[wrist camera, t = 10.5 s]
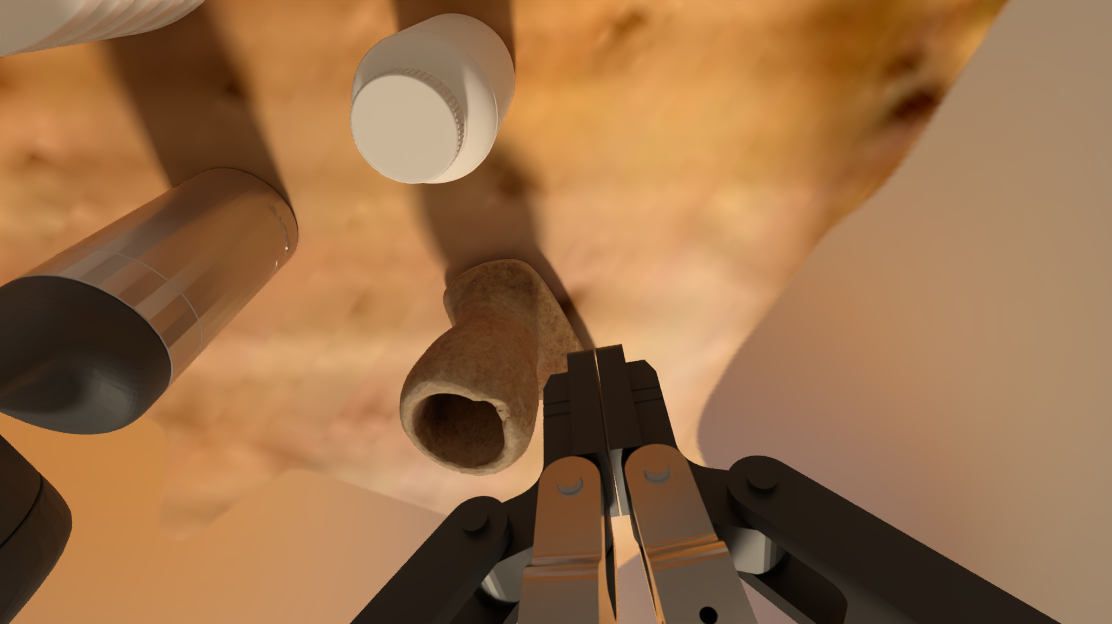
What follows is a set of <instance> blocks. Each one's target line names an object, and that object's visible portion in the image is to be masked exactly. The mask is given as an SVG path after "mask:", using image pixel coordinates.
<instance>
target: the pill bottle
mask: <svg viewBox="0 0 1112 624" xmlns="http://www.w3.org/2000/svg"><path fill="white" fill-rule="evenodd" d="M514 88H515V73H514V67H513V62H512V59H511V56H510V54H509V51H508V49H507V47H506V46H505V44H504V42H503V41H502V40H501V38H500V37H499V36H498V35H497V33H496V32H495V31H494V30H493V29H491V28H490V27H489V26H488V25H486V24H485V23H483V22H482V21H480V20H478V19H476V18H474V17H471V16H468V15H463V14H456V13H447V14H441V15H437V16H434V17H431V18H429V19H427V20H425V21H422V22H420V23H418V24H415V25H413V26H411V27H409V28H406V29H404V30H402V31H399V32H397V33H395V34H393V35H390V36H388V37H386V38H385V39H383V40H381V41H380V42H378V43H377V44H376V45H375V46H373V47H372V48H371V49H370V50H369V51H368V52H367V54H366V55H365V56H364V58H363V59H362V61H361V62H360V64H359V66H358V68H357V71H356V73H355V77H354V80H353V86H352V95H351V102H352V106H351V111H350V115H351V116H350V121H351V122H350V126H351V131H352V136H353V138H354V141H355V143H356V146H357V148H358V149H359V151H360V153H361V154H362V156H363V157H364V158H365V160H366V161H367V162H368V163H369V164H370V165H371V166H372V167H373V168H374V169H375V170H377V171H378V172H379V173H381V174H383V175H384V176H386V177H388V178H390V179H393V180H395V181H398V182H403V183H408V184H412V183H414V184H417V183H419V184H420V183H445V182H449V181H453V180H456V179H459V178H461V177H463V176H465V175H467V174H469V173H470V172H472V171H473V170H474V169H476V168H477V167H478V166H479V165H480V164H481V163H482V162H483V160H484V159H485V158H486V156H487V155H488V153H489V152H490V150H491V148H492V146H493V144H494V141H495V139H496V137H497V134H498V132H499V130H500V128H501V125H502V123H503V121H504V118H505V116H506V114H507V111H508V109H509V107H510V104H511V102H512V98H513V95H514Z"/></svg>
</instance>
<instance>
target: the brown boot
mask: <svg viewBox="0 0 1112 624" xmlns="http://www.w3.org/2000/svg"><path fill="white" fill-rule="evenodd" d="M443 303H444V306H445V309H446V312H447V314H448V317H449V319H450V321H451V324H452V326H453V327H452V328H451V329H449V330H448V331H447V332H445V333H444V334H443V335H441V336H440V337H439V338H438V339H437V340H436V341H434V342H433V343H432V344H431V346H430V347H429V348H428V349H427V350H426V352H425V353H424V354H423V355H422V356H421V358H420V359H419V360H418V361H417V362H416V364H415V365H414V366H413V368H412V369H411V371H410V373H409V374H408V376H407V378H406V380H405V382H404V385H403V388H402V392H401V397H400V419H401V423H402V427H403V429H404V431H405V433H406V435H407V436H408V437H409V438H410V439H411V441H412V442H413V444H414V445H415V446H416V447H417V448H418V449H419V450H420V451H421V452H422V453H423V454H424V455H426V456H427V457H428V458H430V459H431V460H433V461H434V462H436V463H438V464H439V465H441V466H443V467H445V468H447V469H450V470H453V471H458V472H460V473H463V474H470V475H475V476H483V475H490V474H496V473H498V472H500V471H502V470H504V469H506V468H507V467H509V466H511V465H512V464H513V463H514V462H516V461H517V460H518V459H519V458H520V457H521V456H522V455H523V454H524V452H525V451H526V450H527V447H528V445H529V443H530V441H531V438H532V435H533V432H534V427H535V422H536V416H537V411H538V406H539V400H543V389H544V387H545V385H546V383H547V381H548V379H549V377H550V375H552V374H558V373H564V372H568V365H567V353H570V352H576V351H582V350H584V349H583V347H582V345H581V343H580V341H579V340H578V338H577V336H576V334H575V333H574V331H573V329H572V327H571V325H570V323H569V321H568V319H567V317H566V316H565V314H564V312H563V310H562V309H561V307H560V305H559V304H558V302H557V301H556V299H555V297H554V296H553V294H552V293H551V291H550V289H549V288H548V286H547V285H546V283H545V282H544V281H543V279H542V278H541V277H540V276H539V274H538V273H537V272H536V271H535V270H534V269H533V268H532V267H531V266H530V265H529V264H527V263H526V262H524V261H521V260H518V259H500V260H494V261H489V262H485V263H482V264H480V265H477V266H475V267H473V268H471V269H469V270H467V271H465V272H463V273H461V274H460V275H458V276H457V277H456V278H455V279H454V280H453V281H452V283H451V284H450V286H449V287H448V288H446V290H445V291H444V296H443Z"/></svg>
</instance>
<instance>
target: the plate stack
mask: <svg viewBox="0 0 1112 624" xmlns="http://www.w3.org/2000/svg"><path fill="white" fill-rule="evenodd" d="M204 1H205V0H0V57H4V56H9V55H14V54H19V53H26V52H33V51H40V50H45V49H51V48H55V47H62V46H69V45H75V44H81V43H86V42H92V41H99V40H105V39H111V38H116V37H122V36H129V35H135V34H140V33H145V32H149V31H153V30H156V29H159V28H162V27H164V26H167V25H169V24H171V23H173V22H175V21H177V20H179V19H181V18H183V17H184V16H186V15H187V14H189V13H190V12H192V11H193V10H194V9H196V8H197V7H198V6H199V5H201V4H202V3H203V2H204Z"/></svg>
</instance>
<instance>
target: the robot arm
mask: <svg viewBox="0 0 1112 624" xmlns="http://www.w3.org/2000/svg"><path fill="white" fill-rule="evenodd" d="M297 242H298V230H297V225H296V221H295V218H294V216H293V214H292V212H291V210H290V208H289V207H288V205H287V204H286V202H285V201H284V200H283V198H282V197H281V196H280V195H279V194H278V193H277V192H276V191H275V190H274V189H273V188H272V187H270V186H269V185H268V184H266V183H265V182H264V181H262V180H260V179H258V178H257V177H255V176H253V175H251V174H248V173H245V172H242V171H239V170H235V169H228V168H217V169H210V170H207V171H204V172H201V173H199V174H198V175H196V176H194V177H192V178H191V179H189V180H187V181H185V182H184V183H182V184H180V185H178V186H177V187H175V188H173V189H171V190H169V191H167V192H166V193H164V194H162V195H160V196H159V197H157V198H155V199H153V200H152V201H150V202H148V203H146V204H145V205H143V206H141V207H139V208H138V209H136V210H134V211H132V212H131V213H129V214H127V215H125V216H124V217H122V218H120V219H118V220H117V221H115V222H113V223H111V224H110V225H108V226H106V227H104V228H103V229H101V230H99V231H97V232H96V233H94V234H92V235H90V236H89V237H87V238H85V239H83V240H82V241H80V242H78V243H76V244H75V245H73V246H71V247H69V248H68V249H66V250H64V251H62V252H61V253H59V254H57V255H55V256H54V257H52V258H51V259H49V260H47V261H45V262H44V263H42V264H40V265H38V266H37V267H35V268H33V269H31V270H30V271H28V272H26V273H24V274H23V275H21V276H19V277H17V278H16V279H14V280H12V281H10V282H9V283H7V284H5V285H3V286H2V287H0V412H2V413H4V414H6V415H9V416H11V417H13V418H16V419H19V420H21V421H23V422H26V423H29V424H32V425H35V426H38V427H41V428H45V429H49V430H53V431H58V432H63V433H70V434H100V433H108V432H112V431H115V430H118V429H121V428H123V427H125V426H127V425H129V424H131V423H132V422H134V421H135V420H137V419H138V418H139V417H141V416H142V415H143V414H144V413H145V412H146V411H147V410H148V409H149V408H150V407H151V406H152V405H153V404H154V403H155V401H156V400H157V399H158V398H159V397H160V396H161V395H162V394H163V393H164V392H165V391H166V390H167V389H168V388H169V387H170V386H171V385H172V383H173V382H174V381H175V380H176V379H177V378H178V377H179V376H180V375H181V374H182V373H183V372H184V371H185V370H186V369H187V368H188V366H189V365H190V364H191V363H192V362H193V361H194V360H195V359H196V358H197V357H198V356H199V354H200V353H201V352H202V351H203V350H204V349H205V348H206V347H207V346H208V345H209V344H210V343H211V342H212V341H213V340H214V339H215V338H216V336H217V335H218V334H219V333H220V332H221V331H222V330H223V329H224V328H225V327H226V326H227V325H228V324H229V323H230V322H231V321H232V319H233V318H234V317H235V316H236V315H237V314H238V313H239V312H240V311H241V310H242V309H243V308H244V307H245V306H246V305H247V304H248V303H249V301H250V300H251V299H252V298H253V297H254V296H255V295H256V294H257V293H258V292H259V291H260V290H261V289H262V288H263V287H264V286H265V284H267V282H268V281H269V280H270V279H271V278H272V277H273V276H274V275H275V274H276V273H277V272H278V271H279V270H280V269H281V268H282V267H283V265H284V264H285V263H286V262H287V261H288V260H289V259H290V258H291V257H292V255H293V253H294V251H295V250H296V246H297ZM595 349H596V357H597V364H598V370H597V365H596V360H595V355H594V350H593V349H588V350H582V351H576V352H570V353H567V365H568V372H564V373H558V374H552V375H550V377H549V379H548V381H547V383H546V385H545V387H544V389H543V405H544V407H543V417H544V419H543V430H544V465H543V470H542V473H541V475H540V477H539V479H538V480H537V482H536V483H535V484H534V485H533V486H532V487H531V488H530V489H529V490H527V491H526V492H524V493H522V494H520V495H519V496H516V497H514V498H512V499H510V500H507V501H505V502H503V503H501V502H500V501H499V500H497V499H495V498H493V497H489V496H478V497H474V498H471V499H468V500H466V501H465V502H463V503H461V504H460V505H459V506H458V507H457V508H455V509H454V510H453V512H452V513H451V514H450V515H449V516H448V517H447V518H446V519H445V520H444V521H443V522H442V524H441V525H440V526H439V527H438V528H437V529H436V530H435V531H434V532H433V533H432V534H431V536H430V537H429V538H428V539H427V540H426V541H425V542H424V543H423V544H422V545H421V547H420V548H419V549H418V550H417V551H416V552H415V553H414V554H413V555H412V556H411V558H410V559H409V560H408V561H407V562H406V563H405V564H404V565H403V566H402V567H401V569H400V570H399V571H398V572H397V573H396V574H395V575H394V576H393V577H392V578H391V579H390V580H389V581H388V583H387V584H386V585H385V586H384V587H383V588H382V589H381V590H380V591H379V593H377V595H376V596H375V597H374V598H373V599H372V600H371V601H370V602H369V603H368V605H367V606H366V607H365V608H364V609H363V610H362V611H361V612H360V613H359V615H357V617H356V618H355V619H354V620H353V621H352V622H351V623H350V624H516V623H517V624H619V604H618V583H617V561H616V546H615V541H614V537H613V532H612V524H611V517H615V516H620V515H619V508H618V501H617V494H616V487H615V481H616V486H617V491H618V496H619V501H620V506H621V511H622V516H623V515H630V519H631V525H632V530H633V535H634V538H635V540H636V541H637V543H638V547H639V551H640V555H641V559H642V563H643V567H644V571H645V575H646V579H647V583H648V587H649V591H650V595H651V599H652V603H653V607H654V611H655V615H656V619H657V624H758V623H757V620H756V618H755V615H754V613H753V610H752V608H751V605H750V603H749V600H748V598H747V595H746V593H745V590H744V588H743V585H742V583H741V580H740V578H741V579H743V580H744V581H745V582H746V583H748V584H749V585H750V586H751V587H753V588H754V589H755V590H756V591H758V592H759V593H760V594H761V595H763V596H764V597H765V598H767V599H768V600H769V601H770V602H772V603H773V604H774V605H775V606H777V607H778V608H779V609H780V610H782V611H783V612H784V613H786V614H787V615H788V616H789V617H791V618H792V619H793V620H794V621H796V622H797V623H798V624H1061V623H1059V622H1057V621H1056V620H1054V619H1052V618H1050V617H1049V616H1047V615H1045V614H1043V613H1042V612H1040V611H1038V610H1036V609H1035V608H1033V607H1031V606H1030V605H1028V604H1026V603H1024V602H1023V601H1021V600H1019V599H1018V598H1015V597H1014V596H1012V595H1011V594H1009V593H1007V592H1005V591H1004V590H1002V589H1000V588H999V587H997V586H995V585H993V584H991V583H990V582H988V581H986V580H984V579H983V578H981V577H979V576H978V575H976V574H974V573H973V572H971V571H969V570H967V569H966V568H964V567H962V566H960V565H959V564H957V563H955V562H954V561H952V560H950V559H948V558H947V557H945V556H943V555H941V554H940V553H938V552H936V551H935V550H933V549H931V548H929V547H927V546H926V545H924V544H922V543H921V542H919V541H917V540H915V539H914V538H912V537H910V536H909V535H907V534H905V533H903V532H902V531H900V530H898V529H896V528H895V527H893V526H891V525H890V524H888V523H886V522H884V521H882V520H881V519H879V518H877V517H875V516H874V515H872V514H871V513H869V512H867V511H865V510H864V509H862V508H860V507H858V506H857V505H855V504H853V503H851V502H850V501H848V500H846V499H844V498H843V497H841V496H839V495H838V494H836V493H834V492H832V491H831V490H829V489H827V488H825V487H824V486H822V485H820V484H819V483H817V482H815V481H813V480H812V479H810V478H808V477H806V476H805V475H803V474H801V473H800V472H798V471H796V470H794V469H793V468H791V467H789V466H788V465H786V464H784V463H782V462H780V461H778V460H776V459H774V458H771V457H766V456H749V457H745V458H742V459H741V460H738V461H737V462H735V463H734V464H733V465H732V466H731V468H730V469H729V471H728V470H721V469H713V468H707V467H703V466H700V465H697V464H695V463H693V462H691V461H690V460H688V459H687V458H686V457H684V456H683V454H682V453H681V452H680V451H679V449H678V447H677V445H676V442H675V438H674V435H673V431H672V427H671V424H670V420H669V416H668V413H667V409H666V406H665V402H664V399H663V395H662V391H661V388H660V384H659V380H658V377H657V373H656V371H655V370H654V369H653V368H652V367H651V366H650V365H649V364H648V363H647V362H646V361H645V360H639V361H633V362H627V363H626V362H625V357H624V352H623V348H622V344H619V345H613V346H607V347H601V348H595ZM598 371H599V376H598ZM599 378H600V381H599ZM613 471H614V473H613ZM614 476H615V480H614ZM71 530H72V517H71V511H70V509H69V507H68V505H67V504H66V502H65V501H64V499H63V498H62V496H61V495H60V494H59V492H58V491H57V490H56V489H55V488H54V487H53V486H52V485H51V484H50V483H49V482H48V481H47V480H46V479H45V478H44V477H43V476H42V475H41V474H40V473H39V472H38V471H37V470H36V469H35V468H34V467H33V466H32V465H31V464H30V463H29V462H28V461H27V460H26V459H25V458H24V457H23V456H22V455H21V454H20V453H19V452H18V451H17V450H16V449H15V448H14V447H13V446H11V444H9V442H7V441H6V440H5V439H4V438H3V437H2V436H1V435H0V624H9V623H10V622H11V621H12V620H13V618H14V617H15V616H16V615H17V613H18V612H19V611H20V610H21V609H22V608H23V607H24V605H25V604H26V603H27V601H29V599H30V598H31V597H32V596H33V594H34V593H35V592H36V591H37V589H38V588H39V587H40V586H41V584H42V583H43V582H44V580H45V579H46V577H47V576H48V575H49V573H50V572H51V571H52V569H53V568H54V566H55V564H56V563H57V561H58V560H59V558H60V556H61V555H62V553H63V551H64V548H65V546H66V544H67V541H68V539H69V536H70V533H71ZM739 577H740V578H739Z"/></svg>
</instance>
